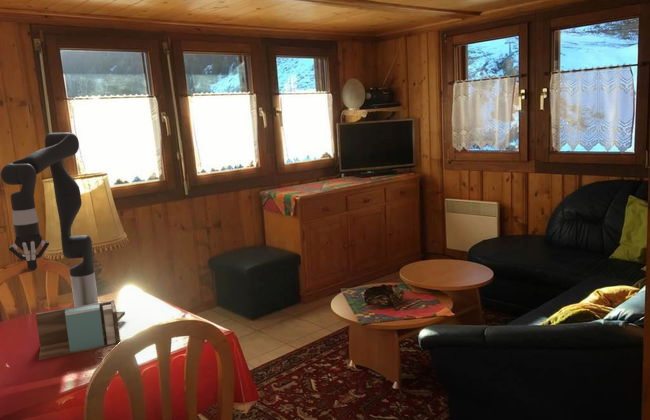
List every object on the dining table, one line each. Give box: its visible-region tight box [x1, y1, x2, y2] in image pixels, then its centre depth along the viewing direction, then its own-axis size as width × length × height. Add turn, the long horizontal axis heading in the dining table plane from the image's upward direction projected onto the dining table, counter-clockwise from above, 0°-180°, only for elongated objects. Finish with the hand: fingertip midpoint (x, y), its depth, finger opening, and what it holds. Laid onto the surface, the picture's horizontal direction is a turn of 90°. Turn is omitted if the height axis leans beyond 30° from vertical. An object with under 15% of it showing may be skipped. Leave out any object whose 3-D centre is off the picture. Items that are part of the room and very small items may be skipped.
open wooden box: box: [35, 299, 121, 361], centre depth 195 cm, size 13×26×14 cm, turn 114°
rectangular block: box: [65, 304, 104, 352], centre depth 193 cm, size 4×11×14 cm, turn 114°
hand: (32, 270), depth 193 cm, fingers closed
